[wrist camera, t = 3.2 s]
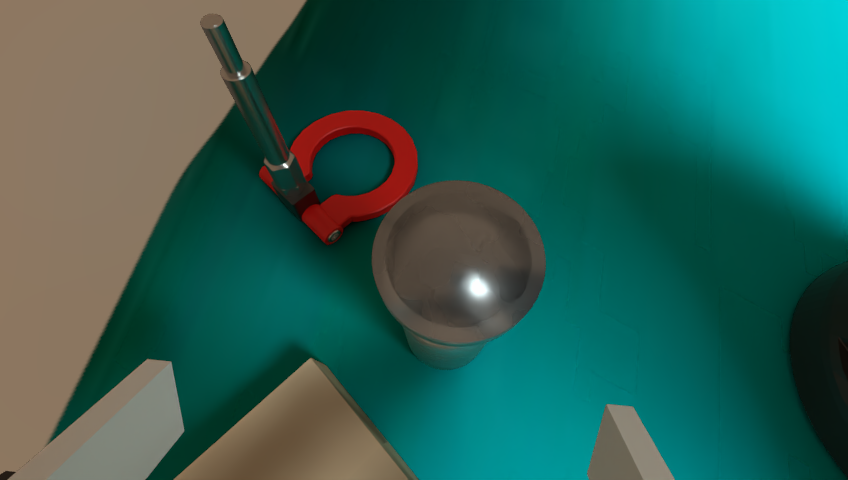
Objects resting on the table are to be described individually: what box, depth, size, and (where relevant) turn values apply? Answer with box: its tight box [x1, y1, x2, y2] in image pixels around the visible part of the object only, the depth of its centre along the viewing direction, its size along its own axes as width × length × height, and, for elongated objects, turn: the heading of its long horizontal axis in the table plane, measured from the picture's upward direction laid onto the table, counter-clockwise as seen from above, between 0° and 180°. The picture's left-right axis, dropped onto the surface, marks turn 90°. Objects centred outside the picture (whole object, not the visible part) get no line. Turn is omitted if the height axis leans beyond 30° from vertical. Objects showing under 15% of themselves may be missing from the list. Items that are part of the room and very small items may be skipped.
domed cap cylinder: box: [372, 180, 546, 370], centre depth 17 cm, size 5×5×11 cm
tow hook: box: [200, 14, 418, 245], centre depth 21 cm, size 8×13×9 cm
